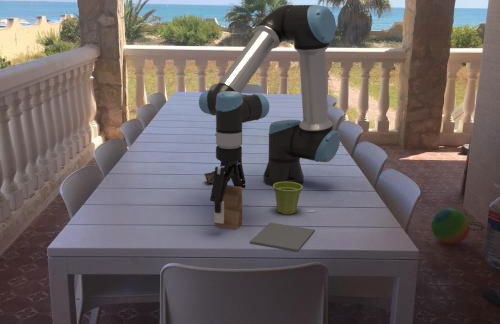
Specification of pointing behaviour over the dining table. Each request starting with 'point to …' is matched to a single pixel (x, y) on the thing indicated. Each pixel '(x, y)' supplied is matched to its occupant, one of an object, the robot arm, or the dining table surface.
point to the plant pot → (287, 196)
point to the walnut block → (232, 208)
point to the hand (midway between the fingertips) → (228, 215)
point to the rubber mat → (283, 236)
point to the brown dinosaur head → (210, 177)
